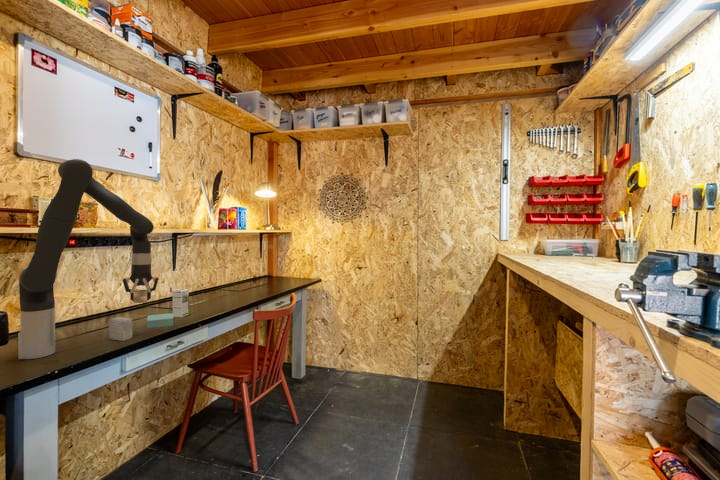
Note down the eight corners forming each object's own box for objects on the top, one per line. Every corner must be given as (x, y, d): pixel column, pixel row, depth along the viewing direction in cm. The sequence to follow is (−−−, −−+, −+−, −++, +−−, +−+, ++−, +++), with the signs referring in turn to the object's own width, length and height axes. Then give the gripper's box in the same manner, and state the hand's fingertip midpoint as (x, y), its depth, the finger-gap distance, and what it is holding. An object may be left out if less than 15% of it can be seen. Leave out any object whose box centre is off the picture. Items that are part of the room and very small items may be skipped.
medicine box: (132, 338, 145) (132, 318, 144) (122, 341, 140) (122, 321, 140) (118, 336, 147) (118, 316, 147) (108, 339, 143) (108, 319, 142)
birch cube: (133, 303, 147) (133, 291, 147) (134, 300, 152) (134, 290, 152) (146, 302, 150) (147, 291, 150) (147, 300, 154) (147, 289, 154)
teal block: (146, 329, 159) (146, 320, 159) (147, 323, 168) (147, 315, 168) (173, 326, 164) (173, 318, 164) (172, 320, 174) (172, 313, 174)
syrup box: (182, 317, 179) (182, 290, 178) (172, 316, 180) (172, 290, 179) (189, 314, 184) (189, 288, 184) (179, 314, 185) (179, 288, 185)
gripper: (120, 264, 144) (120, 303, 144) (159, 263, 151) (158, 301, 151) (123, 262, 150) (122, 300, 151) (160, 262, 157) (159, 298, 158)
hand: (140, 300), depth 151 cm, fingers closed on birch cube, 5 cm apart
